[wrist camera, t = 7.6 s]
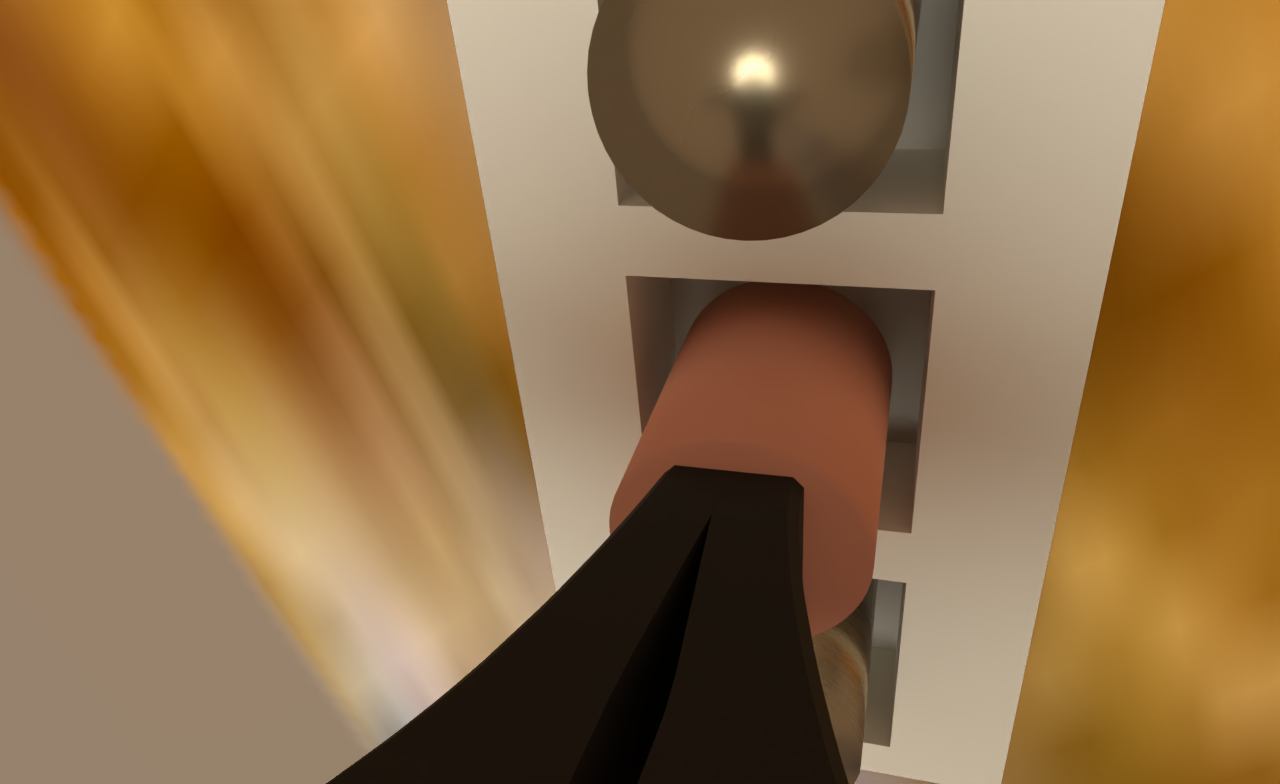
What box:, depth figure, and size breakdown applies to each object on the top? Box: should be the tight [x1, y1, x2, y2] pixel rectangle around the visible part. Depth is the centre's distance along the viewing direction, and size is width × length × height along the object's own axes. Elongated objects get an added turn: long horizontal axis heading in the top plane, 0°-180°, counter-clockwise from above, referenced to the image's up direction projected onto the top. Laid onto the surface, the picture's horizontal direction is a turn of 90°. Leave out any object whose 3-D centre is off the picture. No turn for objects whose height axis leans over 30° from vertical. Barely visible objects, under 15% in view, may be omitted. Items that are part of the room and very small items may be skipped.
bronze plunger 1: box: [587, 0, 922, 241], centre depth 9 cm, size 3×3×4 cm
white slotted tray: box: [447, 0, 1165, 784], centre depth 13 cm, size 7×14×3 cm, turn 6°
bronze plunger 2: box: [812, 579, 878, 784], centre depth 14 cm, size 3×3×4 cm
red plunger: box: [609, 282, 892, 636], centre depth 11 cm, size 3×3×4 cm
